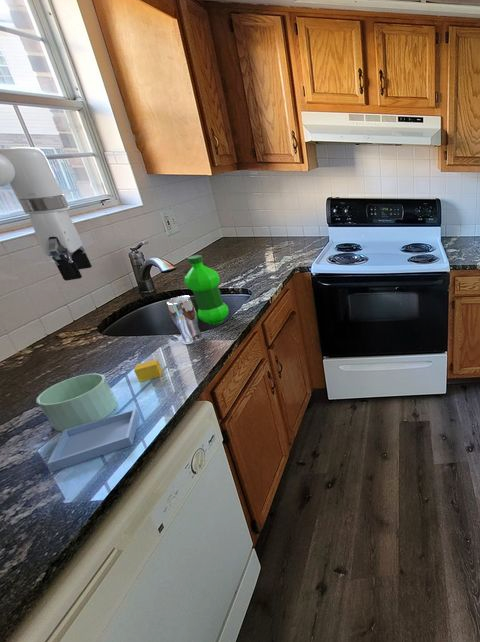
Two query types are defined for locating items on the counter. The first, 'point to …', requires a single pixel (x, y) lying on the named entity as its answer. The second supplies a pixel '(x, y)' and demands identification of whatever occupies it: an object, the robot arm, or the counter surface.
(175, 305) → the beer glass
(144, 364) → the sponge
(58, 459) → the tray
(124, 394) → the counter surface
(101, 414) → the bowl
